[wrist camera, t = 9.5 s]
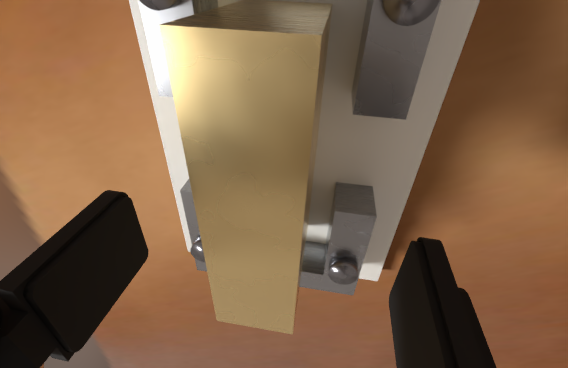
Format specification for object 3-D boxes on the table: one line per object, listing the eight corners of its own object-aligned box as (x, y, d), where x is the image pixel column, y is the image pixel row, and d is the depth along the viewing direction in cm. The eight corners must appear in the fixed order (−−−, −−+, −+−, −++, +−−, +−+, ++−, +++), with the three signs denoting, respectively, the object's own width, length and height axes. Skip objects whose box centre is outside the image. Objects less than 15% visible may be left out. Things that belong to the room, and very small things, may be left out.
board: (526, -163, 9) (544, -177, 8) (376, 269, 21) (377, 281, 21) (107, -161, 11) (88, -172, 10) (193, 241, 23) (188, 251, 22)
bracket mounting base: (449, -104, 9) (487, -130, 7) (352, 263, 20) (353, 304, 18) (154, -108, 10) (96, -132, 8) (211, 241, 21) (193, 277, 19)
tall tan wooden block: (332, 3, 12) (322, 35, 6) (308, 225, 19) (292, 334, 13) (245, -1, 12) (159, 24, 6) (254, 217, 19) (216, 320, 13)
